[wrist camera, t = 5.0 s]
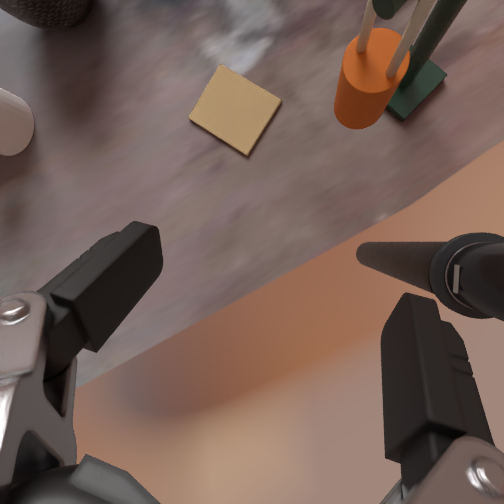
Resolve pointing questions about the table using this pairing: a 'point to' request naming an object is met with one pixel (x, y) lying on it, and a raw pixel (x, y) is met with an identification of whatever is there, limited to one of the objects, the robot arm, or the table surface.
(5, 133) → the bottle
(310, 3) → the table surface
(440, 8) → the hook rack
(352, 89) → the orange cylinder
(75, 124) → the table surface
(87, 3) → the planter
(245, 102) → the cork mat
